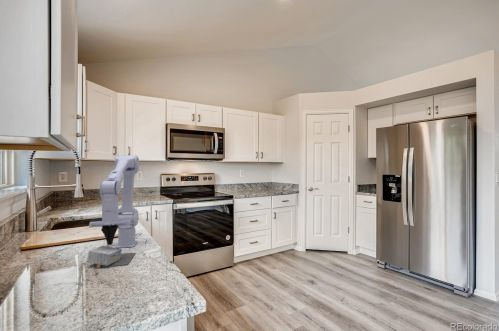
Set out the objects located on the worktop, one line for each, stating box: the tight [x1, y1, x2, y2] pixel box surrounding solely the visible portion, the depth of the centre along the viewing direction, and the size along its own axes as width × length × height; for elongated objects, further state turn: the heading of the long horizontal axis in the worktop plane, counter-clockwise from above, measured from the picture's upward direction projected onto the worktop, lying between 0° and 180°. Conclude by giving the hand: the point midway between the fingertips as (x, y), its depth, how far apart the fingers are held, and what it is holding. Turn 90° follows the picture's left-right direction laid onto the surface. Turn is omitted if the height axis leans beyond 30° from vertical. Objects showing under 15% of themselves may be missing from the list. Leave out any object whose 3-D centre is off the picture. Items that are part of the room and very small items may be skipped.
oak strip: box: [96, 264, 103, 270], centre depth 100 cm, size 14×1×1 cm, turn 13°
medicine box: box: [86, 245, 123, 266], centre depth 98 cm, size 8×4×9 cm
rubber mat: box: [101, 252, 137, 268], centre depth 102 cm, size 14×9×1 cm, turn 13°
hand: (110, 244), depth 100 cm, fingers closed
